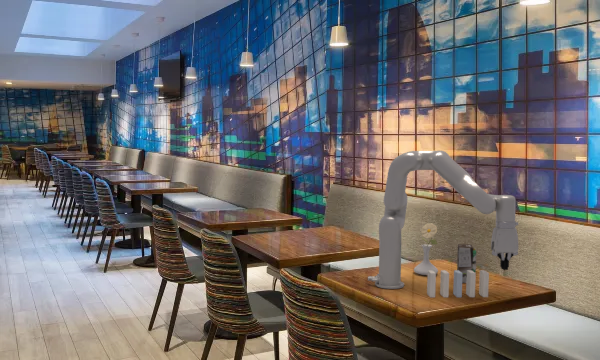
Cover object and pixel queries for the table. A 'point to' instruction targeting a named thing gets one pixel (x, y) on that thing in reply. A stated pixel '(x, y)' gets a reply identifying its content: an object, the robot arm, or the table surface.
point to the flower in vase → (427, 250)
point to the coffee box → (464, 259)
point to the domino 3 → (457, 283)
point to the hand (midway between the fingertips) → (504, 269)
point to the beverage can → (474, 260)
